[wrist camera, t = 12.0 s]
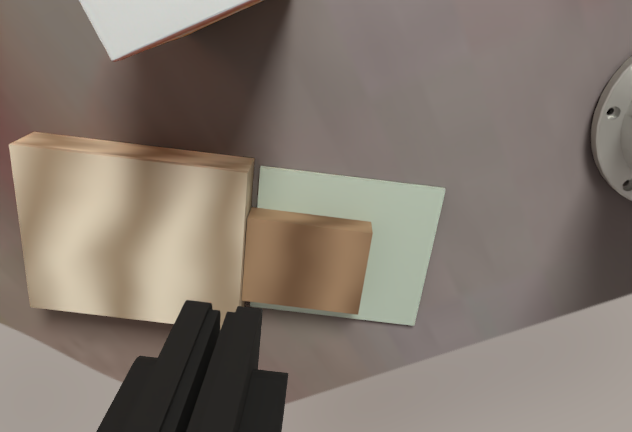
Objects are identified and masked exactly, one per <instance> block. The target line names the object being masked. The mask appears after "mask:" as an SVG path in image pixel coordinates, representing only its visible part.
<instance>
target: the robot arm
mask: <svg viewBox="0 0 632 432" xmlns="http://www.w3.org/2000/svg"><path fill="white" fill-rule="evenodd" d="M610 108H611V110H610V112H609V113H607V111H608V110H609V109H610ZM591 148H592V153H593V157H594V161H595V164H596V166H597V168H598V170H599V172H600V174H601V176H602V177H603V178H604V179H605V180H606V181H607V183H608V184H609V185H610V186H611V187H612V188H613V189H614V190H616V191H617V192H618V193H619V194H621V195H622V196H624V197H625V198H627V199H629V200H631V201H632V56H631V57H630V58H628V59H627V60H626V61H625V62H624V63H623V64H622V66H621V67H620V68H619V69H618V70H617V72H616V73H615V74H614V75H613V76H612V78H611V79H610V81H609V82H608V84H607V86H606V88H605V89H604V91H603V93H602V94H601V96H600V99H599V102H598V104H597V107H596V109H595V112H594V116H593V122H592V127H591ZM624 182H625V183H624ZM220 317H221V313H220V310H212V303H209V302H200V301H192V300H186V301H185V303H184V305H183V307H182V309H181V311H180V313H179V315H178V317H177V319H176V321H175V323H174V325H173V327H172V330H171V332H170V334H169V336H168V338H167V340H166V342H165V344H164V346H163V348H162V350H161V352H160V355H159V357H158V358H154V357H145V356H139V357H137V358H136V360H135V361H134V363H133V365H132V366H131V368H130V370H129V372H128V374H127V376H126V378H125V380H124V381H123V383H122V385H121V387H120V389H119V391H118V393H117V394H116V396H115V398H114V400H113V402H112V404H111V406H110V408H109V409H108V411H107V413H106V415H105V417H104V419H103V421H102V422H101V424H100V426H99V428H98V430H97V432H281V430H282V422H283V414H284V406H285V397H286V389H287V380H288V373H282V372H273V371H265V370H258V359H259V347H260V336H261V324H262V309H259V308H251V307H243V306H238V307H237V309H236V312H227V313H226V316H225V319H224V322H223V325H222V327H221V330H220Z"/></svg>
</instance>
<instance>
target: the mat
mask: <svg viewBox="0 0 632 432" xmlns="http://www.w3.org/2000/svg"><path fill="white" fill-rule="evenodd" d="M444 194H445V188H441V187H433V186H424V185H416V184H408V183H400V182H391V181H383V180H375V179H367V178H358V177H350V176H342V175H333V174H325V173H317V172H309V171H300V170H292V169H284V168H276V167H267V166H261V167H260V177H259V191H258V204H257V208H264V209H272V210H280V211H288V212H296V213H304V214H312V215H320V216H328V217H336V218H345V219H353V220H361V221H369V222H371V224H372V232H373V235H372V240H371V246H370V251H369V257H368V262H367V268H366V274H365V279H364V285H363V290H362V296H361V301H360V307H359V312H358V315H356V314H348V313H340V312H332V311H323V310H315V309H307V308H299V307H290V306H282V305H274V304H266V303H258V302H250V306H251V307H260V308H268V309H276V310H285V311H293V312H302V313H310V314H319V315H327V316H336V317H344V318H353V319H361V320H369V321H378V322H386V323H395V324H403V325H412V326H414V324H415V320H416V316H417V311H418V307H419V303H420V298H421V294H422V290H423V285H424V281H425V277H426V272H427V268H428V264H429V259H430V255H431V251H432V246H433V242H434V238H435V233H436V229H437V225H438V220H439V216H440V212H441V207H442V203H443V199H444Z"/></svg>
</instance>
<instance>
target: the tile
mask: <svg viewBox="0 0 632 432" xmlns="http://www.w3.org/2000/svg"><path fill="white" fill-rule="evenodd" d="M372 235H373V232H372V224H371V222H369V221H361V220H353V219H345V218H336V217H328V216H320V215H312V214H304V213H296V212H288V211H280V210H272V209H264V208H256V207H251V210H250V212H249V215H248V218H247V230H246V245H245V259H244V273H243V288H242V301H249V302H258V303H266V304H274V305H282V306H290V307H299V308H307V309H315V310H323V311H332V312H340V313H348V314H356V315H358V312H359V307H360V301H361V296H362V290H363V285H364V279H365V274H366V268H367V262H368V257H369V251H370V246H371V240H372Z"/></svg>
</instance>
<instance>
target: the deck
mask: <svg viewBox="0 0 632 432" xmlns="http://www.w3.org/2000/svg"><path fill="white" fill-rule="evenodd" d="M9 149H10V157H11V164H12V172H13V180H14V187H15V195H16V202H17V210H18V218H19V225H20V233H21V240H22V248H23V256H24V263H25V271H26V279H27V286H28V294H29V301H30V307H34V308H42V309H51V310H59V311H68V312H76V313H85V314H93V315H101V316H110V317H118V318H127V319H135V320H144V321H152V322H161V323H169V324H174V323H175V321H176V319H177V317H178V315H179V313H180V311H181V309H182V307H183V305H184V303H185V301H186V300H192V301H200V302H209V303H212V310H220V313H221V317H220V330H221V327H222V325H223V322H224V319H225V316H226V313H227V312H236V309H237V307H238V306H243V307H244V306H245V301H242V288H243V273H244V259H245V245H246V230H247V218H248V215H249V212H250V210H251V203H252V189H253V174H254V159H255V158H247V157H239V156H231V155H222V154H214V153H206V152H198V151H189V150H181V149H173V148H165V147H156V146H148V145H140V144H131V143H123V142H115V141H107V140H98V139H90V138H82V137H74V136H65V135H57V134H49V133H41V132H33V133H31V134H29V135H27V136H25V137H23V138H21V139H19V140H17V141H15V142H13V143H11V144H9Z"/></svg>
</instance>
